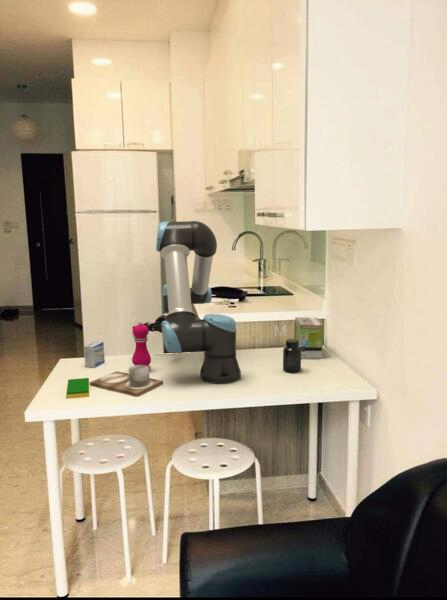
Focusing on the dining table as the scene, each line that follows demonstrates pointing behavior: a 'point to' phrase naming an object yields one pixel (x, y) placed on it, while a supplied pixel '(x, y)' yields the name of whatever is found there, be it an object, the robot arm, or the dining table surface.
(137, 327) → the pepper mill
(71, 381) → the dish sponge
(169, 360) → the dining table surface
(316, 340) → the tea box
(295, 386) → the dining table surface
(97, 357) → the medicine box
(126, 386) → the board
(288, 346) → the supplement bottle
